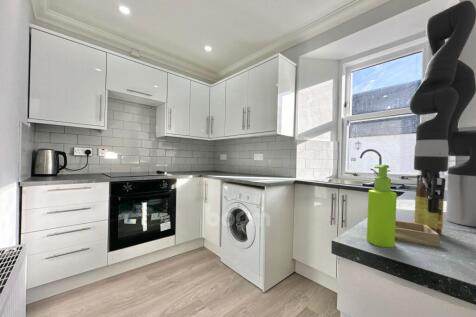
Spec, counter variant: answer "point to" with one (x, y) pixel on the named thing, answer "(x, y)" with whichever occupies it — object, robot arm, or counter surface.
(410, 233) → the wooden stand
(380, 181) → the soap dispenser
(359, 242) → the counter surface
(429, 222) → the sauce bottle
